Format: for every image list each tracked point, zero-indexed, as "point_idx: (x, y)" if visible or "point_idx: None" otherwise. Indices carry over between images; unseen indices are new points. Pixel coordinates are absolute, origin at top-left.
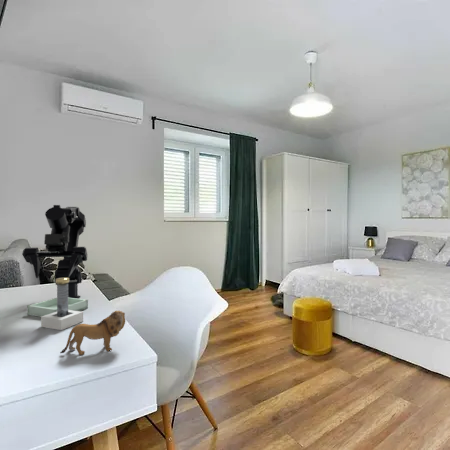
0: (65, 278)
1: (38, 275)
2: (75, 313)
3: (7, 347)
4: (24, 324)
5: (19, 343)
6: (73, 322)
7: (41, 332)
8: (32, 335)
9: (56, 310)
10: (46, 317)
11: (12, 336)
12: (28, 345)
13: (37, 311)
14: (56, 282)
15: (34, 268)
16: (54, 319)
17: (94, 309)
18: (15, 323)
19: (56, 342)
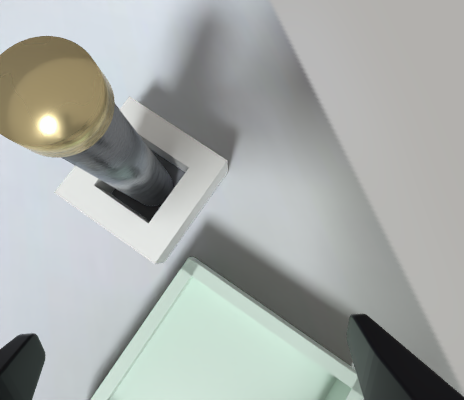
0: (16, 89)
1: (359, 374)
2: (86, 175)
3: (265, 7)
4: (304, 217)
5: (242, 29)
6: None
7: (206, 110)
8: (227, 87)
9: (188, 258)
10: (200, 144)
11: (291, 93)
12: (209, 8)
13: (298, 331)
14: (102, 73)
15: (457, 396)
16: (161, 117)
17: (43, 387)
18: (347, 239)
19: (132, 12)
